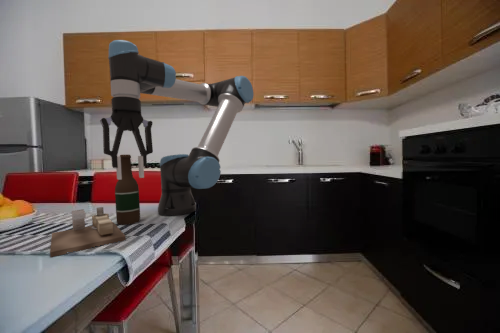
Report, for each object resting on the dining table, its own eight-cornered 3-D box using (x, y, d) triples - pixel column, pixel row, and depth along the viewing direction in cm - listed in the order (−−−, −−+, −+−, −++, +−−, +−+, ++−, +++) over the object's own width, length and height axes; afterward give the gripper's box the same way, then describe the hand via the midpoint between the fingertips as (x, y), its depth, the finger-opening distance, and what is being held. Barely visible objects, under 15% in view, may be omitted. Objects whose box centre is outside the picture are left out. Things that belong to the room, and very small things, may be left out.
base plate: (113, 225, 80) (113, 222, 80) (125, 240, 66) (125, 236, 66) (52, 236, 70) (52, 233, 70) (50, 257, 56) (50, 252, 56)
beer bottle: (124, 219, 88) (120, 154, 87) (144, 218, 88) (141, 154, 87) (111, 225, 81) (107, 154, 79) (133, 225, 80) (130, 154, 79)
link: (91, 224, 75) (90, 207, 75) (107, 221, 78) (106, 205, 78) (97, 235, 64) (96, 216, 64) (115, 232, 67) (114, 213, 67)
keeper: (108, 223, 79) (107, 205, 79) (111, 227, 74) (110, 209, 74) (73, 229, 73) (71, 210, 73) (74, 234, 68) (72, 214, 68)
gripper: (154, 104, 77) (158, 175, 78) (86, 97, 66) (92, 180, 67) (162, 99, 71) (166, 176, 73) (89, 91, 60) (95, 182, 61)
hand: (130, 178), depth 70 cm, fingers open, 5 cm apart
